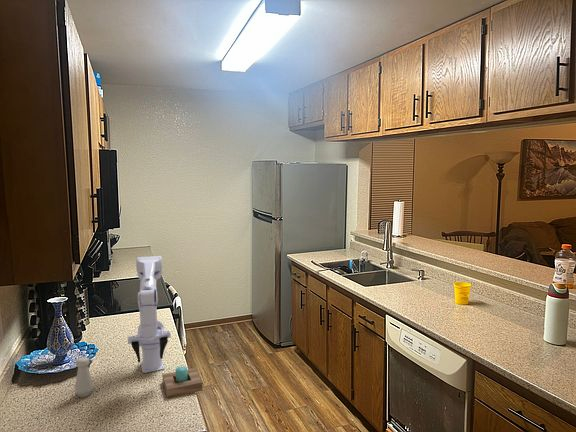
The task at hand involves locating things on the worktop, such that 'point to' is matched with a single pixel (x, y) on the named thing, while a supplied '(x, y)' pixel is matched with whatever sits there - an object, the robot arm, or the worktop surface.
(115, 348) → the worktop surface
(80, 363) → the salt shaker
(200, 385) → the socket block
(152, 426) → the worktop surface
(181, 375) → the teal pin
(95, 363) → the worktop surface
